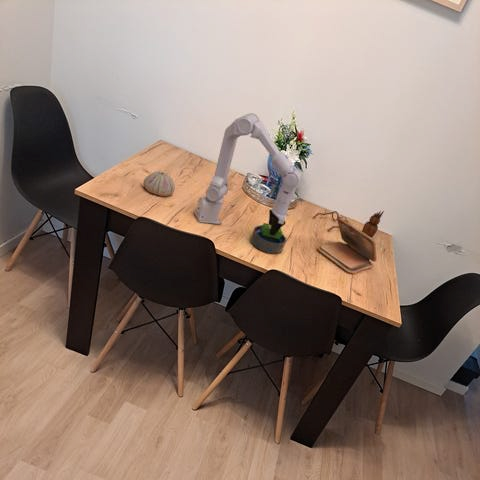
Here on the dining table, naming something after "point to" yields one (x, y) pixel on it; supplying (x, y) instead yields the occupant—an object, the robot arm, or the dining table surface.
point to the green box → (266, 231)
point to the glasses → (332, 218)
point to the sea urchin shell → (159, 183)
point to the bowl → (267, 241)
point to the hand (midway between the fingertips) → (271, 231)
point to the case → (351, 249)
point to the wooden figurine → (372, 225)
